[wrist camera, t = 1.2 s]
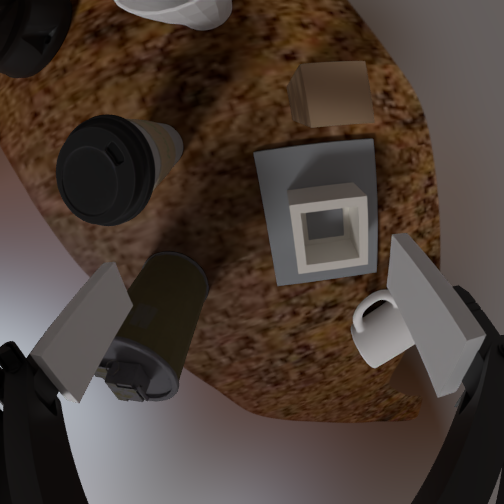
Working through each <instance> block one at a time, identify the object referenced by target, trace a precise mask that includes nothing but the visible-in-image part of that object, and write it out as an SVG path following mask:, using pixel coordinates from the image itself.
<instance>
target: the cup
mask: <svg viewBox="0 0 504 504" xmlns="http://www.w3.org/2000/svg"><path fill="white" fill-rule="evenodd" d="M114 1H115V2H116V4H117V5H118V6H119V7H121V8H123V9H125V10H126V11H128V12H130V13H133V14H136V15H138V16H141V17H144V18H148V19H152V20H156V21H161V22H165V23H170V24H182V25H186V26H188V27H190V28H192V29H195V30H210V29H213V28H216V27H218V26H220V25H222V24H223V23H224V22H225V21H226V20H227V19H228V18H229V16H230V14H231V11H232V0H114Z"/></svg>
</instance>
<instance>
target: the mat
mask: <svg viewBox="0 0 504 504" xmlns="http://www.w3.org/2000/svg"><path fill="white" fill-rule="evenodd" d="M254 158H255V164H256V169H257V174H258V179H259V185H260V190H261V196H262V201H263V206H264V212H265V217H266V223H267V229H268V234H269V240H270V246H271V251H272V257H273V263H274V269H275V274H276V280H277V286H281V285H289V284H297V283H304V282H312V281H319V280H326V279H334V278H341V277H347V276H354V275H361V274H367V273H374V272H377V240H378V214H377V183H376V166H375V153H374V142H373V139H372V138H367V139H353V140H341V141H331V142H321V143H312V144H304V145H296V146H288V147H281V148H275V149H268V150H262V151H256V152H254ZM351 182H353V183H354V184H355V185H356V186H358V187H359V188H360V189H361V190H362V191H363V192H364V193H365V194H366V195H367V207H368V264H367V265H360V266H353V267H346V268H339V269H332V270H325V271H318V272H310V273H303V274H298V267H297V260H296V252H295V245H294V237H293V230H292V223H291V216H290V209H289V202H288V196H287V190H293V189H301V188H308V187H316V186H324V185H333V184H342V183H351Z"/></svg>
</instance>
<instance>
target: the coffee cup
mask: <svg viewBox="0 0 504 504" xmlns="http://www.w3.org/2000/svg"><path fill="white" fill-rule="evenodd" d="M182 153H183V142H182V139H181V137H180V135H179V133H178V132H177V131H176V130H175V129H174V128H173V127H171V126H169V125H167V124H163V123H155V122H153V121H147V120H136V119H124V118H122V117H119V116H116V115H99V116H95V117H93V118H90V119H88V120H86V121H85V122H83V123H81V124H80V125H78V126H77V127H76V128H75V129H74V130H73V131H72V132H71V134H70V135H69V137H68V138H67V140H66V142H65V143H64V145H63V146H62V148H61V150H60V153H59V156H58V159H57V165H56V179H57V185H58V189H59V192H60V194H61V197H62V199H63V201H64V202H65V204H66V205H67V207H68V208H69V209H70V210H71V212H72V213H73V214H75V215H76V216H77V217H78V218H80V219H82V220H83V221H86V222H88V223H91V224H97V225H102V226H115V225H119V224H122V223H124V222H127V221H129V220H131V219H133V218H134V217H136V216H137V215H138V214H139V213H140V212H141V211H142V210H143V209H144V208H145V206H146V205H147V203H148V201H149V199H150V197H151V195H152V192H153V190H154V189H155V188H156V187H157V185H158V184H159V183H160V182H161V181H162V180H163V179H164V178H165V177H166V175H167V174H168V173H169V172H170V170H171V169H172V167H173V166H174V165H175V164H176V163H177V162H178V160H179V159H180V158H181V155H182Z"/></svg>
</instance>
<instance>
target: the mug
mask: <svg viewBox="0 0 504 504" xmlns="http://www.w3.org/2000/svg"><path fill="white" fill-rule="evenodd" d="M379 300H387V302H385V303H384V304H382V305H381V306H380V307H378V308H377V309H375V310H374V311H372V312H371V313H369V314H368V315H366V316H365V317H363V318H362V316H363V313H364V311H365V310H366V309H367V308H368V307H369V306H371V305H372V304H373V303H375V302H376V301H379ZM351 333H352V337H353V340H354V342H355V344H356V346H357V348H358V350H359V352H360V354H361V355H362V357H363V358H364V360H365V361H366V362H367V363H368V364H369V365H370V366H371V367H373V368H377V367H378V366H380V365H382V364H384V363H385V362H387V361H389V360H390V359H392V358H394V357H395V356H397V355H398V354H400V353H402V352H403V351H405V350H406V349H408V348H409V347H411V346H412V345H414V344H415V342H414V340H413V338H412V336H411V333H410V331H409V329H408V327H407V325H406V323H405V321H404V319H403V317H402V315H401V313H400V311H399V309H398V307H397V305H396V303H395V301H394V299H393V297H392V295H391V293H390V291H389V290H379V291H376V292H374V293H372V294H370V295H369V296H368V297H366V298H365V299H364V300H363V301H362V302H361V303H360V304H359V305H358V307H357V308H356V310H355V312H354V315H353V324H352V326H351Z"/></svg>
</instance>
